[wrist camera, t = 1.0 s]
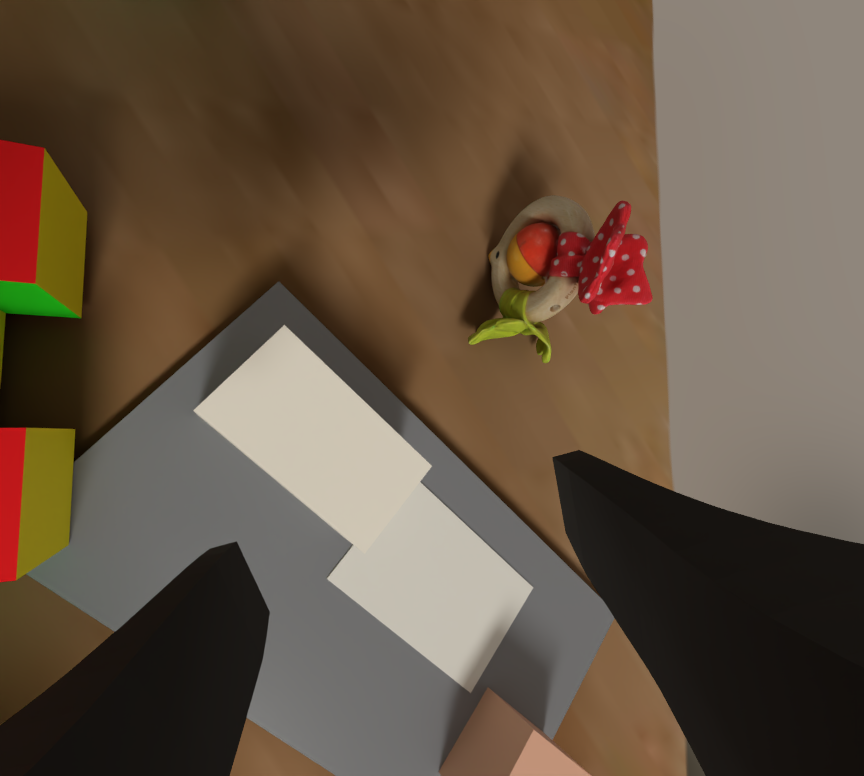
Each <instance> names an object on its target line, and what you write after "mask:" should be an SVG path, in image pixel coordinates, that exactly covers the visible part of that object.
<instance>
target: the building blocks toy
mask: <svg viewBox="0 0 864 776" xmlns="http://www.w3.org/2000/svg"><path fill="white" fill-rule="evenodd" d="M86 229H87V211H86V210H85V208H84V207H83V205H82V204H81V202H80V201H79V199H78V198H77V196H76V195H75V193H74V192H73V190H72V189H71V187H70V186H69V184H68V182H67V181H66V179H65V178H64V176H63V175H62V173H61V172H60V170H59V169H58V167H57V166H56V164H55V163H54V161H53V160H52V158H51V157H50V155H49V154H48V152H47V151H46V149H45V148H42V147H37V146H31V145H26V144H20V143H15V142H9V141H4V140H0V387H1V373H2V359H3V345H4V331H5V318H6V313H10V314H24V315H39V316H54V317H69V318H81V317H82V299H83V282H84V264H85V246H86ZM74 445H75V429H55V428H0V582H7V581H16V580H18V579H19V578H20V577H22V576H23V575H25V574H26V573H28V572H29V571H31V570H32V569H34V568H35V567H37V566H38V565H40V564H41V563H43V562H44V561H46V560H47V559H49V558H50V557H52V556H53V555H55V554H56V553H58V552H59V551H60V550H62V549H63V548H65V547H66V546H68V545H69V533H70V516H71V498H72V480H73V462H74Z"/></svg>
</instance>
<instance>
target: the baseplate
mask: <svg viewBox="0 0 864 776" xmlns="http://www.w3.org/2000/svg"><path fill="white" fill-rule="evenodd" d="M284 325H285V326H286V327H287V328H288V329H289V330H290V331H291V332H292V333H293V334H295V335H296V336H297V337H298V338H299V339H300V340H301V341H302V342H303V343H304V344H305V345H306V346H307V347H308V348H309V349H310V350H311V351H312V352H313V353H314V354H315V355H316V356H318V357H319V358H320V359H321V360H322V361H323V362H324V363H325V364H326V365H327V366H328V367H329V368H330V369H331V370H332V371H333V372H334V373H335V374H336V375H337V376H338V377H339V378H341V379H342V380H343V381H344V382H345V383H346V384H347V385H348V386H349V387H350V388H351V389H352V390H353V391H354V392H355V393H356V394H357V395H358V396H359V397H360V398H361V399H363V400H364V401H365V402H366V403H367V404H368V405H369V406H370V407H371V408H372V409H373V410H374V411H375V412H376V413H377V414H378V415H379V416H380V417H381V418H382V419H383V420H384V421H386V422H387V423H388V424H389V425H390V426H391V427H392V428H393V429H394V430H395V431H396V432H397V433H398V434H399V435H400V436H401V437H402V438H403V439H404V440H405V441H406V442H407V443H409V444H410V445H411V446H412V447H413V448H414V449H415V450H416V451H417V452H418V453H419V454H420V455H421V456H422V457H423V458H424V459H425V460H426V461H427V462H428V463H429V464H430V465H432V467H431V468H430V470H429V471H428V472H427V473H426V475H425V476H424V477H423V479H422V480H421V481H420V483H419V484H418V485H417V486H416V488H415V489H414V490H413V492H412V493H411V494H410V496H409V497H408V498H407V499H406V501H405V502H404V503H403V505H402V506H401V507H400V509H399V510H398V511H397V512H396V514H395V515H394V516H393V518H392V519H391V520H390V522H389V523H388V524H387V526H386V527H385V528H384V529H383V531H382V532H381V533H380V535H379V536H378V537H377V539H376V540H375V541H374V542H373V544H372V545H371V546H370V548H369V549H368V550H367V552H366V553H365V554H364V553H363V552H362V551H360V550H359V549H358V548H357V547H355V546H354V545H353V544H352V543H350V542H349V541H348V540H346V539H345V538H344V537H343V536H341V535H340V534H339V533H338V532H337V531H335V530H334V529H333V528H332V527H331V526H329V525H328V524H327V523H326V522H325V521H323V520H322V519H321V518H320V517H319V516H317V515H316V514H315V513H314V512H313V511H311V510H310V509H309V508H308V507H307V506H305V505H304V504H303V503H302V502H301V501H299V500H298V499H297V498H296V497H295V496H293V495H292V494H291V493H290V492H289V491H288V490H286V489H285V488H284V487H283V486H282V485H280V484H279V483H278V482H277V481H276V480H274V479H273V478H272V477H271V476H270V475H268V474H267V473H266V472H265V471H264V470H262V469H261V468H260V467H259V466H258V465H256V464H255V463H254V462H253V461H252V460H250V459H249V458H248V457H247V456H246V455H244V454H243V453H242V452H241V451H240V450H239V449H237V448H236V447H235V446H234V445H233V444H231V443H230V442H229V441H228V440H227V439H225V438H224V437H223V436H222V435H221V434H219V433H218V432H217V431H216V430H215V429H213V428H212V427H211V426H210V425H209V424H207V423H206V422H205V421H204V420H203V419H201V418H200V417H199V416H198V415H197V414H196V413H195V412H194V411H193V410H194V409H195V408H196V407H197V406H199V405H200V404H201V403H202V402H203V401H204V400H205V399H206V398H207V397H208V396H209V395H210V394H211V393H212V392H213V391H215V390H216V389H217V388H218V387H219V386H220V385H221V384H222V383H223V382H224V381H225V380H226V379H227V378H228V377H229V376H231V375H232V374H233V373H234V372H235V371H236V370H237V369H238V368H239V367H240V366H241V365H242V364H243V363H244V362H245V361H247V360H248V359H249V358H250V357H251V356H252V355H253V354H254V353H255V352H256V351H257V350H258V349H259V348H260V347H261V346H263V345H264V344H265V343H266V342H267V341H268V340H269V339H270V338H271V337H272V336H273V335H274V334H275V333H276V332H277V331H279V330H280V329H281V328H282V327H283V326H284ZM236 541H237V543H238V545H239V547H240V549H241V551H242V553H243V556H244V558H245V560H246V562H247V564H248V566H249V568H250V571H251V573H252V575H253V577H254V579H255V581H256V583H257V585H258V588H259V590H260V592H261V594H262V596H263V598H264V600H265V602H266V605H267V607H268V609H269V611H270V615H269V623H268V630H267V638H266V644H265V649H264V655H263V660H262V664H261V668H260V672H259V675H258V679H257V682H256V686H255V689H254V693H253V696H252V700H251V703H250V707H249V710H248V714H247V718H248V719H250V720H251V721H253V722H254V723H256V724H257V725H259V726H260V727H262V728H264V729H265V730H267V731H268V732H270V733H271V734H273V735H274V736H276V737H277V738H279V739H280V740H282V741H284V742H285V743H287V744H288V745H290V746H291V747H293V748H294V749H296V750H297V751H299V752H300V753H302V754H304V755H305V756H307V757H308V758H310V759H311V760H313V761H314V762H316V763H317V764H319V765H320V766H322V767H324V768H325V769H327V770H328V771H330V772H331V773H333V774H334V775H336V776H441V775H440V773H439V770H440V768H441V767H442V765H443V763H444V762H445V760H446V758H447V756H448V755H449V753H450V751H451V750H452V748H453V746H454V744H455V743H456V741H457V739H458V738H459V736H460V734H461V732H462V731H463V729H464V727H465V726H466V724H467V722H468V720H469V719H470V717H471V715H472V714H473V712H474V710H475V708H476V707H477V705H478V703H479V702H480V700H481V698H482V696H483V695H484V693H485V691H486V690H487V688H490V689H491V690H492V691H493V692H494V693H496V694H497V695H498V696H499V697H501V698H502V699H503V700H504V701H506V702H507V703H508V704H509V705H511V706H512V707H513V708H514V709H515V710H517V711H518V712H519V713H520V714H522V715H523V716H524V717H525V718H527V719H528V720H529V721H530V722H531V723H533V724H534V725H535V726H536V727H538V728H539V729H540V730H541V731H543V732H544V733H545V734H546V735H547V736H548V737H549V738H550V739H551V740H553V738H554V736H555V734H556V732H557V730H558V728H559V726H560V724H561V722H562V720H563V718H564V716H565V714H566V712H567V710H568V708H569V706H570V704H571V702H572V700H573V698H574V696H575V694H576V692H577V690H578V688H579V686H580V684H581V683H582V681H583V679H584V677H585V675H586V673H587V671H588V669H589V667H590V665H591V663H592V661H593V659H594V657H595V655H596V653H597V651H598V649H599V647H600V645H601V643H602V641H603V639H604V637H605V635H606V633H607V631H608V629H609V627H610V625H611V623H612V621H613V620H614V616H613V615H612V613H611V612H610V610H609V609H608V607H607V605H606V604H605V602H604V601H603V600H602V599H601V598H600V597H599V596H598V595H597V594H596V593H595V592H594V591H593V590H592V589H591V588H590V587H589V586H588V585H587V584H586V583H585V582H584V581H583V580H582V579H581V578H580V577H579V576H578V575H577V574H576V573H575V572H574V571H573V570H572V569H571V568H570V567H569V566H568V565H567V564H566V563H565V562H564V561H563V560H562V559H561V558H560V557H559V556H558V555H556V554H555V553H554V552H553V551H552V550H551V549H550V548H549V547H548V546H547V545H546V544H545V543H544V542H543V541H542V540H541V539H540V538H539V537H538V536H537V535H536V534H535V533H534V532H533V531H532V530H531V529H530V528H529V527H528V526H527V525H526V524H525V523H524V522H523V521H522V520H521V519H520V518H519V517H518V516H517V515H516V514H515V513H514V512H513V511H512V510H511V509H510V508H509V507H508V506H507V505H506V504H505V503H504V502H503V501H502V500H501V499H500V498H499V497H498V496H497V495H496V494H495V493H493V492H492V491H491V490H490V489H489V488H488V487H487V486H486V485H485V484H484V483H483V482H482V481H481V480H480V479H479V478H478V477H477V476H476V475H475V474H474V473H473V472H472V471H471V470H470V469H469V468H468V467H467V466H466V465H465V464H464V463H463V462H462V461H461V460H460V459H459V458H458V457H457V456H456V455H455V454H454V453H453V452H452V451H451V450H450V449H449V448H448V447H447V446H446V445H445V444H444V443H443V442H442V441H441V440H440V439H439V438H438V437H437V436H436V435H435V434H434V433H433V432H431V431H430V430H429V429H428V428H427V427H426V426H425V425H424V424H423V423H422V422H421V421H420V420H419V419H418V418H417V417H416V416H415V415H414V414H413V413H412V412H411V411H410V410H409V409H408V408H407V407H406V406H405V405H404V404H403V403H402V402H401V401H400V400H399V399H398V398H397V397H396V396H395V395H394V394H393V393H392V392H391V391H390V390H389V389H388V388H387V387H386V386H385V385H384V384H383V383H382V382H381V381H380V380H379V379H378V378H377V377H376V376H375V375H374V374H373V373H372V372H371V371H370V370H368V369H367V368H366V367H365V366H364V365H363V364H362V363H361V362H360V361H359V360H358V359H357V358H356V357H355V356H354V355H353V354H352V353H351V352H350V351H349V350H348V349H347V348H346V347H345V346H344V345H343V344H342V343H341V342H340V341H339V340H338V339H337V338H336V337H335V336H334V335H333V334H332V333H331V332H330V331H329V330H328V329H327V328H326V327H325V326H324V325H323V324H322V323H321V322H320V321H319V320H318V319H317V318H316V317H315V316H314V315H313V314H312V313H311V312H310V311H309V310H308V309H306V308H305V307H304V306H303V305H302V304H301V303H300V302H299V301H298V300H297V299H296V298H295V297H294V296H293V295H292V294H291V293H290V292H289V291H288V290H287V289H286V288H285V287H284V286H283V285H282V284H281V283H280V282H279V281H278V282H277V283H276V284H275V285H274V286H273V287H272V288H270V289H269V290H268V291H267V292H266V293H265V294H264V295H263V296H261V297H260V298H259V299H258V300H257V301H256V302H255V303H254V304H252V305H251V306H250V307H249V308H248V309H247V310H246V311H244V312H243V313H242V314H241V315H240V316H239V317H238V318H237V319H235V320H234V321H233V322H232V323H231V324H230V325H229V326H227V327H226V328H225V329H224V330H223V331H222V332H221V333H220V334H218V335H217V336H216V337H215V338H214V339H213V340H212V341H211V342H209V343H208V344H207V345H206V346H205V347H204V348H203V349H201V350H200V351H199V352H198V353H197V354H196V355H195V356H194V357H192V358H191V359H190V360H189V361H188V362H187V363H186V364H185V365H183V366H182V367H181V368H180V369H179V370H178V371H177V372H175V373H174V374H173V375H172V376H171V377H170V378H169V379H168V380H166V381H165V382H164V383H163V384H162V385H161V386H160V387H159V388H157V389H156V390H155V391H154V392H153V393H152V394H151V395H149V396H148V397H147V398H146V399H145V400H144V401H143V402H142V403H140V404H139V405H138V406H137V407H136V408H135V409H134V410H133V411H131V412H130V413H129V414H128V415H127V416H126V417H125V418H123V419H122V420H121V421H120V422H119V423H118V424H117V425H116V426H114V427H113V428H112V429H111V430H110V431H109V432H108V433H106V434H105V435H104V436H103V437H102V438H101V439H100V440H99V441H97V442H96V443H95V444H94V445H93V446H92V447H91V448H90V449H88V450H87V451H86V452H85V453H84V454H83V455H82V456H80V457H79V458H78V459H77V460H76V461H75V462H74V463H73V480H72V498H71V516H70V533H69V545H68V546H66V547H65V548H63V549H62V550H60V551H59V552H58V553H56V554H55V555H53V556H52V557H50V558H49V559H47V560H46V561H44V562H43V563H41V564H40V565H38V566H37V567H35V568H34V569H32V570H31V571H29V572H28V573H26V574H27V575H28V576H30V577H31V578H33V579H34V580H36V581H38V582H39V583H41V584H42V585H44V586H45V587H47V588H48V589H50V590H51V591H53V592H54V593H56V594H57V595H59V596H61V597H62V598H64V599H65V600H67V601H68V602H70V603H71V604H73V605H74V606H76V607H77V608H79V609H81V610H82V611H84V612H85V613H87V614H88V615H90V616H91V617H93V618H94V619H96V620H97V621H99V622H101V623H102V624H104V625H105V626H107V627H108V628H110V629H111V630H113V631H114V632H115V631H117V630H118V629H119V628H120V627H121V626H122V625H124V624H125V623H126V622H127V621H128V620H129V619H130V618H131V617H132V616H133V615H135V614H136V613H137V612H138V611H139V610H140V609H141V608H142V607H143V606H144V605H146V604H147V603H148V602H149V601H150V600H151V599H152V598H153V597H154V596H155V595H157V594H158V593H159V592H160V591H161V590H162V589H163V588H164V587H165V586H166V585H167V584H169V583H170V582H171V581H172V580H173V579H174V578H175V577H176V576H177V575H179V574H180V573H181V572H182V571H183V570H184V569H185V568H186V567H188V566H189V565H190V564H191V563H192V562H193V561H195V560H196V559H197V558H198V557H199V556H201V555H202V554H203V553H205V552H206V551H207V550H209V549H210V548H214V547H217V546H221V545H225V544H229V543H232V542H236Z"/></svg>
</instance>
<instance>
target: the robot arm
mask: <svg viewBox="0 0 864 776" xmlns="http://www.w3.org/2000/svg"><path fill="white" fill-rule="evenodd" d="M553 463H554V469H555V474H556V480H557V486H558V491H559V497H560V503H561V508H562V514H563V520H564V525H565V531H566V534H567V536H568V538H569V540H570V543H571V545H572V547H573V549H574V551H575V553H576V555H577V557H578V559H579V561H580V563H581V565H582V567H583V569H584V571H585V573H586V574H587V576H588V578H589V579H590V581H591V582H592V584H593V585H594V587H595V588H596V590H597V592H598V593H599V595H600V596H601V598H602V599H603V601H604V602H605V604H606V605H607V607H608V609H609V610H610V612H611V613H612V615H613V616H614V618H615V619H616V621H617V622H618V624H619V625H620V627H621V628H622V630H623V631H624V633H625V635H626V636H627V638H628V639H629V641H630V642H631V644H632V645H633V647H634V648H635V650H636V651H637V653H638V654H639V656H640V657H641V659H642V661H643V662H644V664H645V665H646V667H647V668H648V670H649V672H650V673H651V675H652V677H653V678H654V680H655V682H656V683H657V685H658V687H659V688H660V690H661V692H662V694H663V696H664V698H665V699H666V701H667V703H668V705H669V707H670V709H671V711H672V712H673V714H674V716H675V718H676V720H677V722H678V724H679V726H680V727H681V729H682V731H683V733H684V735H685V737H686V739H687V741H688V742H689V744H690V746H691V748H692V750H693V752H694V754H695V756H696V758H697V760H698V762H699V763H700V766H701V767H702V769H703V771H704V773H705V775H706V776H864V544H860V543H854V542H849V541H844V540H839V539H835V538H831V537H826V536H822V535H818V534H813V533H809V532H804V531H800V530H795V529H791V528H788V527H784V526H780V525H775V524H772V523H768V522H764V521H761V520H757V519H755V518H751V517H747V516H744V515H741V514H738V513H734V512H731V511H727V510H724V509H721V508H718V507H715V506H712V505H709V504H706V503H704V502H701V501H698V500H695V499H693V498H690V497H687V496H684V495H682V494H679V493H676V492H674V491H672V490H669V489H667V488H664V487H662V486H659V485H657V484H654V483H652V482H650V481H647V480H645V479H643V478H640V477H638V476H636V475H634V474H631V473H629V472H627V471H625V470H622V469H620V468H618V467H616V466H614V465H612V464H609V463H607V462H605V461H603V460H601V459H599V458H596V457H594V456H592V455H590V454H587V453H585V452H583V451H580V450H578V451H574V452H570V453H567V454H563V455H559V456H555V457H553ZM269 615H270V611H269V609H268V607H267V605H266V602H265V600H264V598H263V596H262V594H261V592H260V590H259V588H258V585H257V583H256V581H255V579H254V577H253V575H252V573H251V571H250V568H249V566H248V564H247V562H246V560H245V558H244V556H243V553H242V551H241V549H240V547H239V545H238V543H237V541H236V542H232V543H229V544H225V545H221V546H217V547H214V548H210V549H209V550H207V551H206V552H205V553H203V554H202V555H201V556H199V557H198V558H197V559H196V560H195V561H193V562H192V563H191V564H190V565H189V566H188V567H186V568H185V569H184V570H183V571H182V572H181V573H180V574H179V575H177V576H176V577H175V578H174V579H173V580H172V581H171V582H170V583H169V584H167V585H166V586H165V587H164V588H163V589H162V590H161V591H160V592H159V593H158V594H157V595H155V596H154V597H153V598H152V599H151V600H150V601H149V602H148V603H147V604H146V605H144V606H143V607H142V608H141V609H140V610H139V611H138V612H137V613H136V614H135V615H133V616H132V617H131V618H130V619H129V620H128V621H127V622H126V623H125V624H124V625H122V626H121V627H120V628H119V629H118V630H117V631H115V632H114V633H113V634H112V635H111V636H110V637H109V638H107V639H106V640H105V641H104V642H103V643H102V644H100V645H99V646H98V647H97V648H96V649H95V650H94V651H92V652H91V653H90V654H89V655H88V656H87V657H85V658H84V659H83V660H82V661H81V662H80V663H79V664H77V665H76V666H75V667H74V668H73V669H72V670H70V671H69V672H68V673H67V674H66V675H64V676H63V677H62V678H61V679H59V680H58V681H57V682H56V683H55V684H53V685H52V686H51V687H50V688H48V689H47V690H46V691H45V692H43V693H42V694H41V695H40V696H38V697H37V698H36V699H34V700H33V701H32V702H30V703H29V704H28V705H27V706H25V707H24V708H23V709H21V710H20V711H19V712H17V713H16V714H15V715H14V716H12V717H11V718H10V719H8V720H7V721H6V722H5V723H3V724H2V725H1V726H0V776H230V772H231V769H232V765H233V762H234V758H235V755H236V751H237V748H238V745H239V741H240V738H241V734H242V731H243V727H244V724H245V721H246V717H247V714H248V710H249V707H250V703H251V700H252V696H253V693H254V689H255V686H256V682H257V679H258V675H259V672H260V668H261V664H262V660H263V655H264V649H265V644H266V638H267V630H268V623H269Z"/></svg>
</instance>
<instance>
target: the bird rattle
mask: <svg viewBox="0 0 864 776" xmlns="http://www.w3.org/2000/svg"><path fill="white" fill-rule="evenodd" d="M630 213H631V205H630V204H629V203H628V202H626V201H620V202H618V203H617V204H616V206H615V207H614V208H613V210H612V211H611V213H610V214H609V216H608V217H607V219H606V221H605V222H604V224H603V226H602V227H601V228H600V230H599V232H598V233H597V235H596V236H595V234H594V229H593V226H592V223H591V220H590V218H589V216H588V214H587V212H586V211H585V210H584V209H583V208H582V207H581V206H580V205H579V204H578V203H576V202H575V201H573V200H571V199H569V198H566V197H561V196H546V197H543V198H540V199H538V200H536V201H534V202H532V203H531V204H529V205H528V206H527V207H526V208H524V209H523V210H522V211H521V212H520V213H519V214H518V215H517V216H516V217H515V219H514V220H513V221H512V222H511V224H510V225H509V227H508V228H507V230H506V231H505V233H504V234H503V236H502V238H501V240H500V242H499V244H498V245H497V246H496V247H495V248H494V249H493V250H492V251H491V252H490V253H489V261H490V263H491V265H492V271H491V279H492V288H493V292H494V296H495V299H496V301H497V303H498V305H499V309H500V312H501V314H502V315H503V318H497V319H492V320H488V321H486V322H484V323H482V324H481V325H480V326H479V328H478V329H477V331H476V333H474V334H472V335H471V336H469V337H468V342H469V344H471V345H474V344H477V343H479V342H480V341H482V340H487V339H493V338H502V337H509V336H514V335H516V334H519V333H521V334H523V335H531V334H533V335H536V336H537V337H538V340H537V343H536V350H537V354H538V355H542V362H543V363H547V362H549V360H550V357H551V345H550V340H549V335H548V331H547V328H546V327H545V326H544V324H543V323H541V322H540V321H543V320H546V319H548V318H550V317H552V316H554V315H555V314H557V313H558V312H559V311H561V310H562V309H563V308H564V307H566V306H567V305H568V304H569V303H570V302H571V301H572V299H573V298H574V297H575V296H576V294H577V293H578V295H579V299H580V301H581V302H583V303H588V305H589V308H590V311H591V313H592V314H599V313H601V312H602V310H603V309H604V308H605V307H607V306H609V305H614V304H616V305H619V304H631V305H642V304H648V303H650V302H651V301H652V294H651V290H650V286H649V283H648V280H647V277H646V274H645V271H644V269H643V261H644V258H645V256H646V253H647V250H648V244H647V241H646V240H645V238H644V237H643V236H641V235H637V234H625V229H626V224H627V222H628V220H629V217H630ZM624 234H625V235H624ZM518 282H520V283H521V284H524V285H527V286H533V287H534V286H542V285H543V286H542V287H541V288H540V289H538V290H537V291H528V290H520V289H519V286H518Z"/></svg>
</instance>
